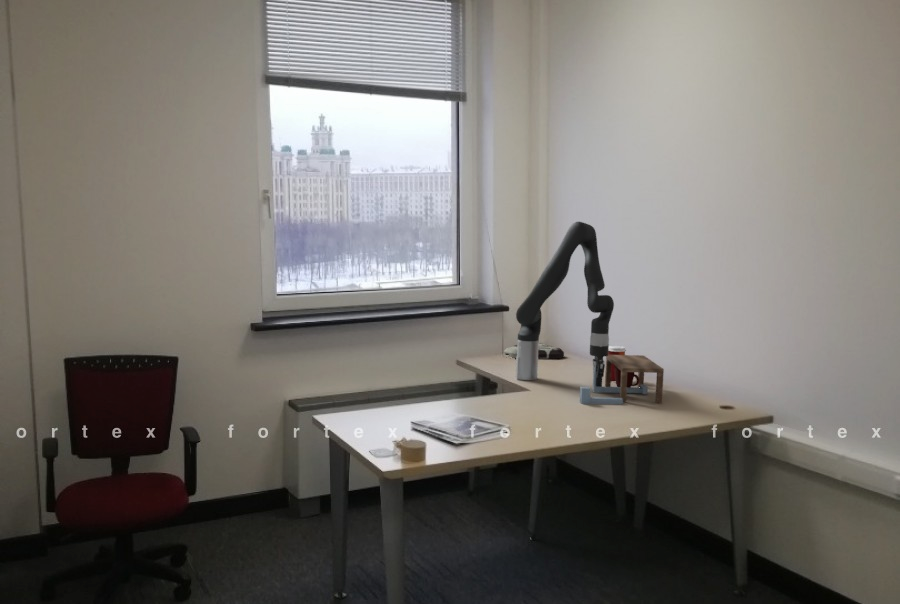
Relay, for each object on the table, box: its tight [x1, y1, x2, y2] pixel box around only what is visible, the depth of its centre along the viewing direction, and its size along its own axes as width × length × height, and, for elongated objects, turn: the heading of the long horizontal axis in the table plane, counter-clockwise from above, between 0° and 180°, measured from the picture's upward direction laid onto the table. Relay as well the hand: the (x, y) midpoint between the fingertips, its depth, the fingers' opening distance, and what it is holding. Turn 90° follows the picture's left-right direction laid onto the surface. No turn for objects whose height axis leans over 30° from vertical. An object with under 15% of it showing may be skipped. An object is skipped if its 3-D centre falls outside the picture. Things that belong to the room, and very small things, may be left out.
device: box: [503, 342, 565, 360], centre depth 405 cm, size 33×27×5 cm
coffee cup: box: [608, 345, 627, 382], centre depth 345 cm, size 8×8×15 cm
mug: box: [615, 366, 639, 387], centre depth 324 cm, size 11×8×10 cm
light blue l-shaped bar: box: [592, 367, 649, 395], centre depth 321 cm, size 22×5×10 cm, turn 88°
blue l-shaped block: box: [579, 386, 624, 405], centre depth 302 cm, size 16×3×6 cm, turn 91°
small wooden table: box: [604, 354, 665, 404], centre depth 318 cm, size 16×30×14 cm, turn 1°
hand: (597, 385), depth 322 cm, fingers closed on light blue l-shaped bar, 3 cm apart
